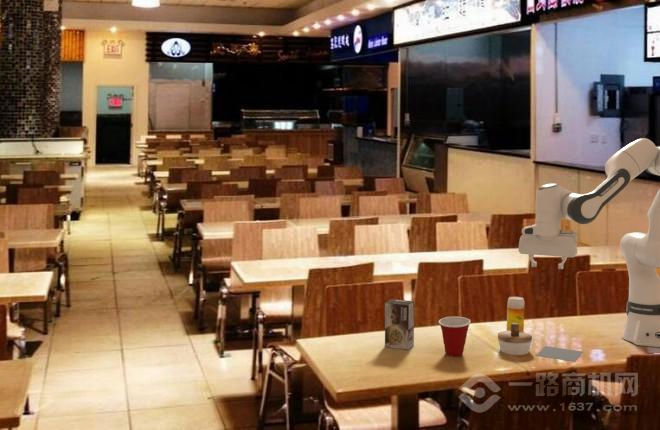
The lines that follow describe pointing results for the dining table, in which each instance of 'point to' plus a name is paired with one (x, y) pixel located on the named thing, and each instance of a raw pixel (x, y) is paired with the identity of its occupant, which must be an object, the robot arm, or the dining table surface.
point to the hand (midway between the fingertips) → (547, 267)
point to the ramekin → (514, 347)
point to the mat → (559, 353)
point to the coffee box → (399, 324)
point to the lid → (514, 335)
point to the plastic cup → (454, 334)
